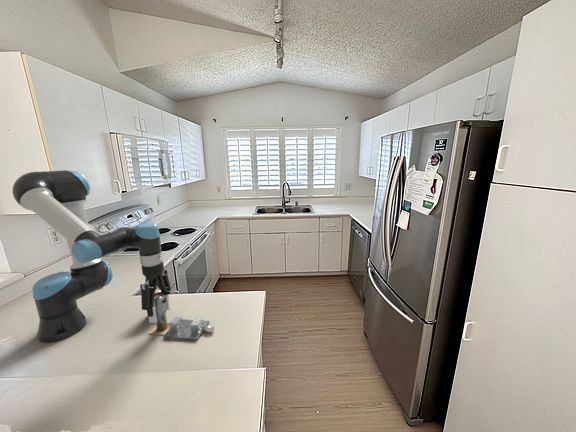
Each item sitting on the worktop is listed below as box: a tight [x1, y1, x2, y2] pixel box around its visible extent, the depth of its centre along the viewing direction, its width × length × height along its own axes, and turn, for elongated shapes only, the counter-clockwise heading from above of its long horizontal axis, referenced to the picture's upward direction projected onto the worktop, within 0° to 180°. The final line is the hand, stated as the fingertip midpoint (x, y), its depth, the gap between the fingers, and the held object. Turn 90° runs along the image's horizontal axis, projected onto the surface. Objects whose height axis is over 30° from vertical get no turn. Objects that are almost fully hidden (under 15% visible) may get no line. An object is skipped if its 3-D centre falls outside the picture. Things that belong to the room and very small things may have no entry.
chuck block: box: [162, 316, 215, 342], centre depth 102 cm, size 18×11×4 cm, turn 84°
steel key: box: [153, 295, 168, 331], centre depth 102 cm, size 6×4×14 cm, turn 94°
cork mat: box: [148, 322, 170, 336], centre depth 104 cm, size 7×7×1 cm
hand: (160, 315), depth 103 cm, fingers open, 8 cm apart
